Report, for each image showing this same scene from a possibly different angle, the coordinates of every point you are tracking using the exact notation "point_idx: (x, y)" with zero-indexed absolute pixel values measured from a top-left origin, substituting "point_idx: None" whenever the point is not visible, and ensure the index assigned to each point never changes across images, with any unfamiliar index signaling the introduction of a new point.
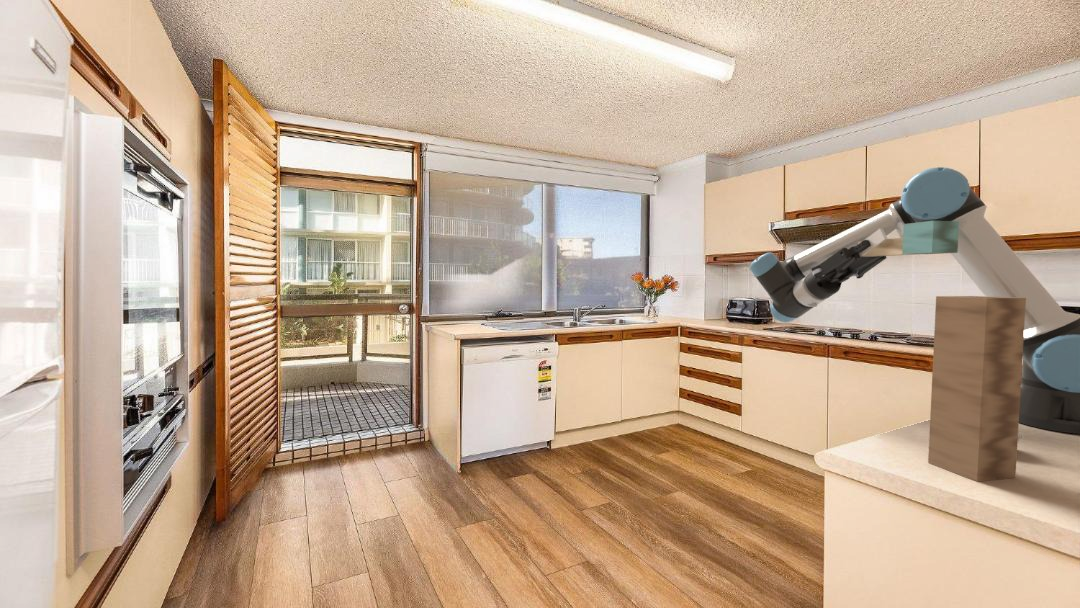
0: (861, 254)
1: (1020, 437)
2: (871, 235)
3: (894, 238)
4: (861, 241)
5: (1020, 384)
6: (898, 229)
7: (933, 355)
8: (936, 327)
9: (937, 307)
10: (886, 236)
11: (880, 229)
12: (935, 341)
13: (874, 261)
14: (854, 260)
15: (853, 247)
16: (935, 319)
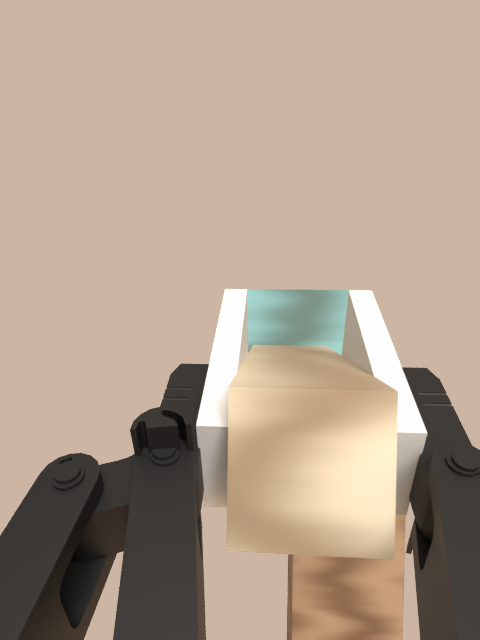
0: (405, 505)
1: None
2: (385, 332)
3: (335, 352)
4: (386, 385)
5: (287, 611)
6: (228, 291)
7: (402, 638)
8: (402, 568)
9: (403, 520)
10: (242, 334)
11: (366, 296)
12: (402, 602)
13: (79, 634)
14: (422, 613)
15: (469, 456)
16: (404, 550)
